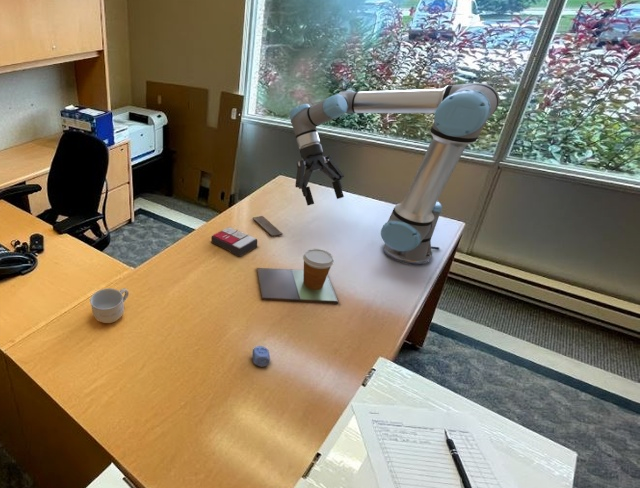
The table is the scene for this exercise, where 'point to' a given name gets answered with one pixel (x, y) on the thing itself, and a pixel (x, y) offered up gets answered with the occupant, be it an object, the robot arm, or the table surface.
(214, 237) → the red and grey box
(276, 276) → the board
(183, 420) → the table surface
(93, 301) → the teacup
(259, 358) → the decorative dice
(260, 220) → the wooden plank
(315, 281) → the disposable coffee cup
